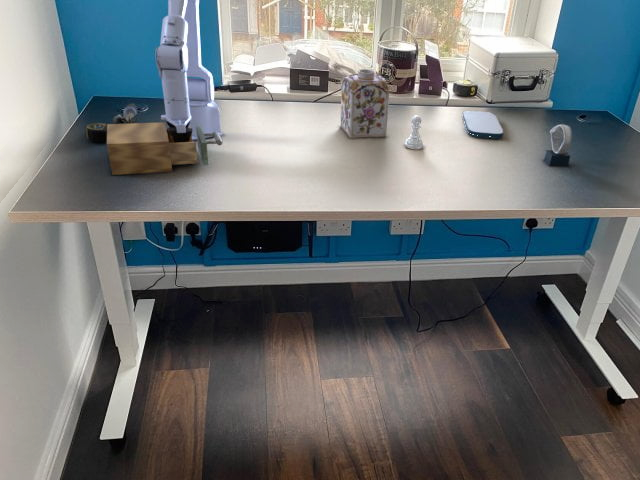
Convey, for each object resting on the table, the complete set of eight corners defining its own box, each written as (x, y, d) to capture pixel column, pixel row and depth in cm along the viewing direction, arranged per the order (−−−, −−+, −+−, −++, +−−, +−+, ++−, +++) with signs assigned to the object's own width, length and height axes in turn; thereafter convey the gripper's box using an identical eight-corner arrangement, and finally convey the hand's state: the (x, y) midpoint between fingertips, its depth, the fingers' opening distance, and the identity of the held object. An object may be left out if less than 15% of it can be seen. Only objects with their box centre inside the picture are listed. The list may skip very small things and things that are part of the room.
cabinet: (168, 150, 158) (164, 122, 154) (172, 171, 147) (168, 141, 143) (112, 153, 154) (107, 124, 150) (112, 175, 142) (106, 144, 138)
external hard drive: (504, 140, 187) (505, 134, 186) (467, 137, 186) (468, 131, 185) (493, 118, 207) (494, 112, 206) (460, 115, 206) (461, 109, 205)
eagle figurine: (147, 128, 168) (144, 113, 174) (130, 109, 163) (126, 94, 168) (125, 143, 168) (122, 127, 174) (107, 124, 163) (104, 108, 169)
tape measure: (114, 143, 159) (111, 130, 157) (85, 144, 157) (83, 130, 155) (115, 135, 165) (113, 121, 163) (88, 136, 163) (85, 122, 161)
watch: (559, 158, 177) (568, 121, 171) (570, 168, 170) (579, 130, 164) (541, 157, 176) (549, 120, 170) (551, 168, 169) (560, 129, 163)
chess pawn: (406, 142, 178) (409, 112, 173) (423, 145, 178) (426, 114, 173) (403, 148, 174) (406, 117, 169) (420, 150, 173) (424, 119, 169)
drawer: (218, 145, 162) (216, 124, 158) (225, 163, 151) (223, 141, 148) (152, 149, 156) (149, 127, 153) (155, 168, 146) (152, 144, 142)
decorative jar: (375, 125, 190) (379, 66, 181) (387, 137, 181) (392, 75, 171) (338, 126, 187) (341, 66, 177) (349, 138, 177) (351, 75, 168)
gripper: (157, 89, 149) (163, 142, 157) (160, 106, 138) (167, 162, 145) (186, 89, 152) (191, 141, 159) (192, 105, 141) (197, 161, 148)
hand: (182, 151), depth 152 cm, fingers closed on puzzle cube, 4 cm apart
